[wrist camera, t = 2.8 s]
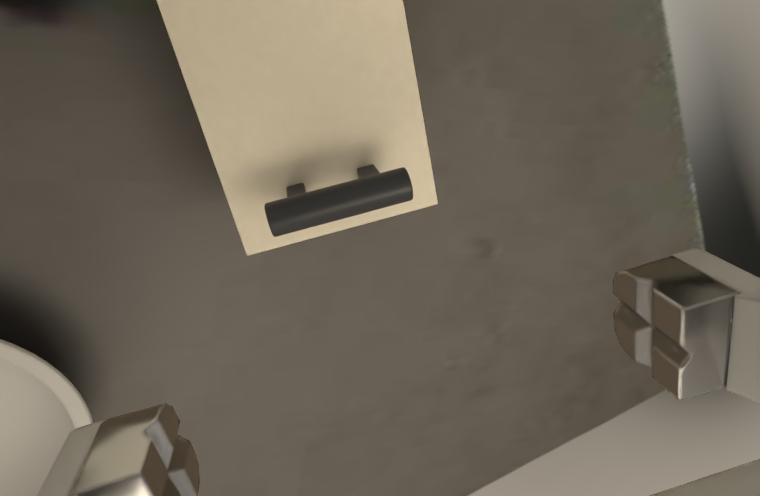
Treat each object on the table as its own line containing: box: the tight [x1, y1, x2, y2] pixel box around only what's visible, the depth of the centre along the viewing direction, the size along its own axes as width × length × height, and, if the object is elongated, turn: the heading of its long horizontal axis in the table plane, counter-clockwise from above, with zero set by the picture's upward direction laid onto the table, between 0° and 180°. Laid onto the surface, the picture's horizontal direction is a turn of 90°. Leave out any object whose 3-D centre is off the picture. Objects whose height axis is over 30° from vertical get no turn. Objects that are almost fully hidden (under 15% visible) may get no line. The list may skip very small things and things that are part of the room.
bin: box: [156, 0, 438, 256], centre depth 21 cm, size 11×8×11 cm
